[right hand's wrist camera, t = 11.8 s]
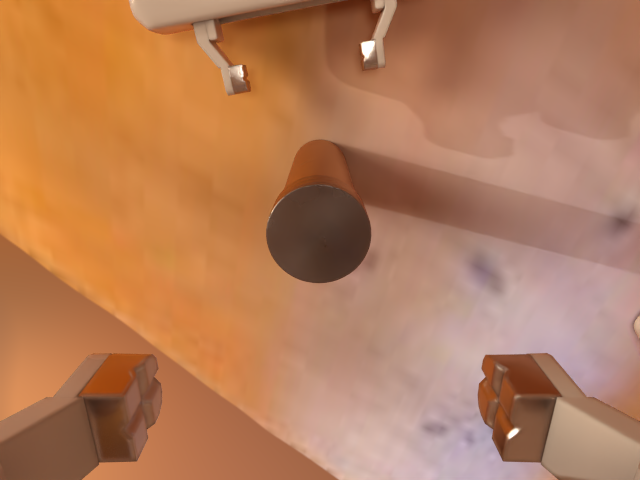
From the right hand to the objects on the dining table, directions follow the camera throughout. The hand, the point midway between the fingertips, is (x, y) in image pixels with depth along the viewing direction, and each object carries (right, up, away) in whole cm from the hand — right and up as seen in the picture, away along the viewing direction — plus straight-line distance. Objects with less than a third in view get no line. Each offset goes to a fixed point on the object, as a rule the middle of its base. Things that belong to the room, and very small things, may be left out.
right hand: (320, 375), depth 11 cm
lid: (0, +4, +10) cm, 11 cm away
